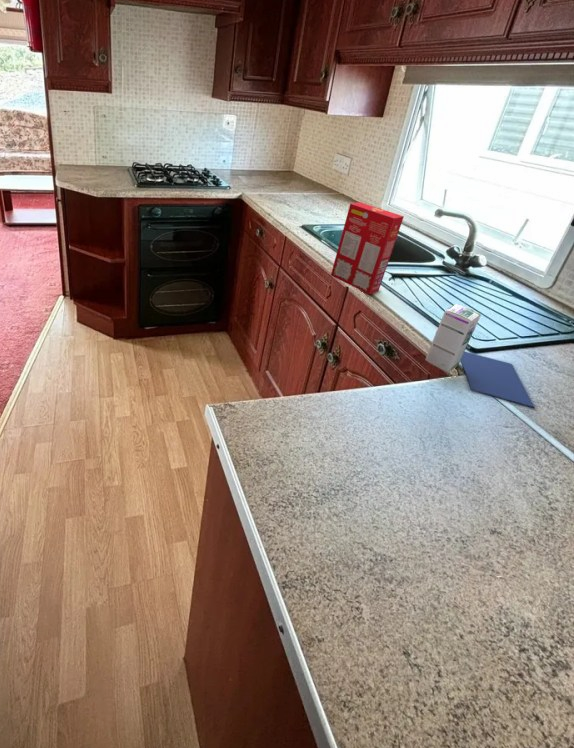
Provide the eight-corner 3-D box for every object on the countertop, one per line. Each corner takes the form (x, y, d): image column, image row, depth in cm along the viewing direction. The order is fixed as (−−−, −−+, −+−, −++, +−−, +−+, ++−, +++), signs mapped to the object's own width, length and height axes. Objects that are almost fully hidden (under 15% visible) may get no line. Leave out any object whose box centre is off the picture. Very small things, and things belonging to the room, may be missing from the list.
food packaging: (378, 290, 129) (403, 216, 118) (369, 294, 126) (394, 218, 115) (339, 272, 139) (359, 202, 128) (330, 275, 136) (350, 203, 125)
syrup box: (448, 373, 94) (473, 321, 87) (423, 360, 98) (445, 308, 91) (458, 365, 97) (483, 314, 91) (433, 352, 101) (455, 302, 94)
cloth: (511, 364, 99) (511, 363, 99) (534, 408, 86) (534, 407, 86) (457, 350, 103) (457, 349, 103) (471, 390, 89) (471, 389, 89)
